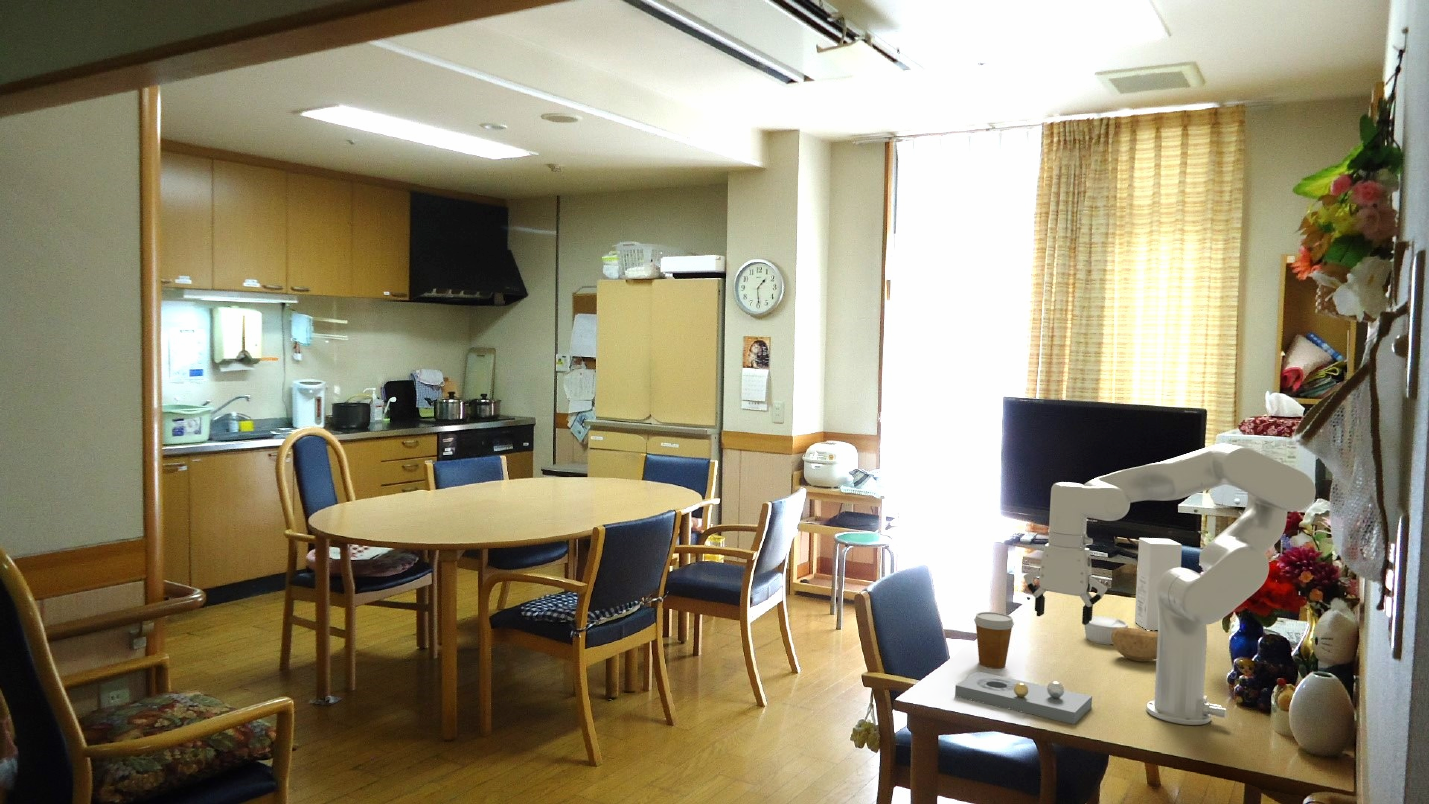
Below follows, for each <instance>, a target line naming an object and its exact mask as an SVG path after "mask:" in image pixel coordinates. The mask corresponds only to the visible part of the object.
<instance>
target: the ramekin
mask: <svg viewBox="0 0 1429 804" xmlns="http://www.w3.org/2000/svg"><path fill="white" fill-rule="evenodd" d="M1083 626H1084V632H1085V633H1084V634H1085V637H1086V638H1087V640H1089V641H1091V642H1092V641H1094V642H1093V643H1097V644H1101V645H1107V644H1113V643H1112V641H1111V635H1112V633H1113V631H1114V630H1115V629H1117V628H1119V627H1128V628H1129V625H1128V623H1127V622H1126V621H1124V620H1122V619H1119V618H1115V617H1110V616H1102V615H1101V616H1099V615H1092V620H1091V621H1089V623H1088V624H1087V625H1083Z"/></svg>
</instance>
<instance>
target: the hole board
mask: <svg viewBox="0 0 1429 804" xmlns="http://www.w3.org/2000/svg"><path fill="white" fill-rule="evenodd" d="M1018 683H1023V684H1025V685H1026V686H1027V687H1028V694H1027V695H1026V696H1025V697H1018V696H1017V695H1016V694H1015V693H1014V687H1015V685H1016V684H1018ZM1047 686H1048V685H1043V684H1038V683H1034V682H1028V681H1025V680H1024V681H1023V680H1020V679H1015V678H1010V677H1006V676H1001V675H996V674H993V673H987V672H982V671H975V672H974V673H972V674H970V675H969V676H968V677H966V678H964V679H963V680H961V681H960V682H958V683H957V684H955V687H954V688H955V690H954V696H955V697H956V698H960V697H961V698H960V699H964V700H965V699H966V700H969V699H972V700H971V701H973V700H975V701H974V702H977V701H979V702H978V703H981V702H984V703H983V704H986V703H987V704H986V705H990V704H991V705H990V706H994V705H997V706H996V707H998V706H1000V708H1003V707H1004V708H1003V709H1007V708H1010V709H1009V710H1011V709H1013V711H1015V710H1016V711H1017V712H1020V711H1022V712H1021V713H1024V712H1025V714H1028V715H1032V714H1034V715H1033V716H1037V715H1038V716H1037V717H1041V716H1042V717H1041V718H1046V719H1050V720H1054V719H1055V720H1054V721H1059V722H1062V723H1067V724H1071V725H1076V723H1077V722H1078V721H1079V720H1081V719H1082V718H1083V717H1084V716H1085V714H1087V712H1089V711H1090V710H1091V709H1092V706H1093V705H1092V704H1093V695H1089V694H1085V693H1079V692H1074V691H1070V690H1066V689H1064V694H1063V695H1062V696H1061V697H1060V698H1053V697H1051V696H1050V695H1049V694H1048V692H1047Z"/></svg>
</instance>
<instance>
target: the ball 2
mask: <svg viewBox="0 0 1429 804" xmlns="http://www.w3.org/2000/svg"><path fill="white" fill-rule="evenodd" d="M1046 686H1047V692H1048V694H1049V695H1050V696H1051V697H1053V698H1060V697H1061V696H1062V695H1063V694H1064V690H1065V688H1064V686H1063V684H1062V683H1060V682H1059V681H1050V683H1048V685H1046Z"/></svg>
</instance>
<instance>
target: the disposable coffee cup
mask: <svg viewBox="0 0 1429 804" xmlns="http://www.w3.org/2000/svg"><path fill="white" fill-rule="evenodd" d="M973 621H974V624H975V629H976V630H975V631H976V639H977V640H976V643H977V653H978V654H977V655H978V663H979V665H981V666H983V667H986V668H990V669H991V668H992V669H1002V668H1005V667H1006V663H1007V659H1008V658H1007V657H1008V652H1009V646H1010V642H1011V634H1012V628H1014V627H1013V626H1014V625H1015V622H1014V620H1013V617H1012V616H1011V615H1008V614H1005V613H1001V612H996V611H995V612H993V611H982V612H978V613H976V616H975V618H973Z"/></svg>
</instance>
